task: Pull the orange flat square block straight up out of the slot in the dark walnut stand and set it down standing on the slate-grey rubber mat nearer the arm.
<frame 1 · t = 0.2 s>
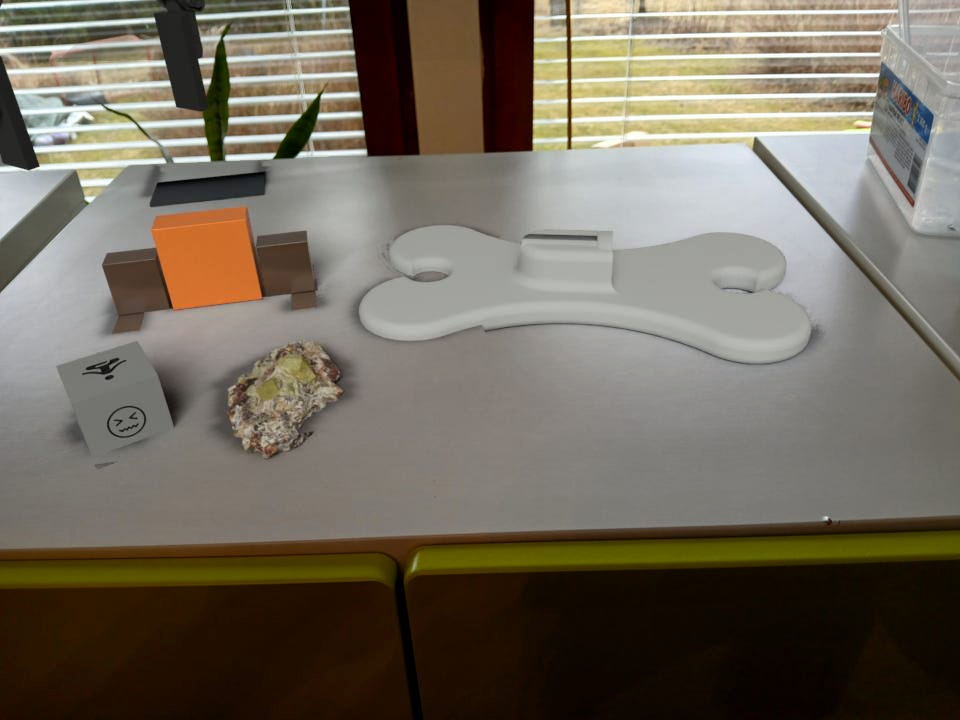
hand: (114, 134, 54), 16 cm above the table, tool pointing down, fingers open, 13 cm apart
mineral rock: (284, 413, 54), on the table
token stand: (222, 307, 66), on the table
mat: (211, 181, 91), on the table
holder: (578, 297, 65), on the table
orange flat square block: (219, 296, 65), point 1 cm above the table, touching token stand
dice cube: (129, 436, 52), on the table
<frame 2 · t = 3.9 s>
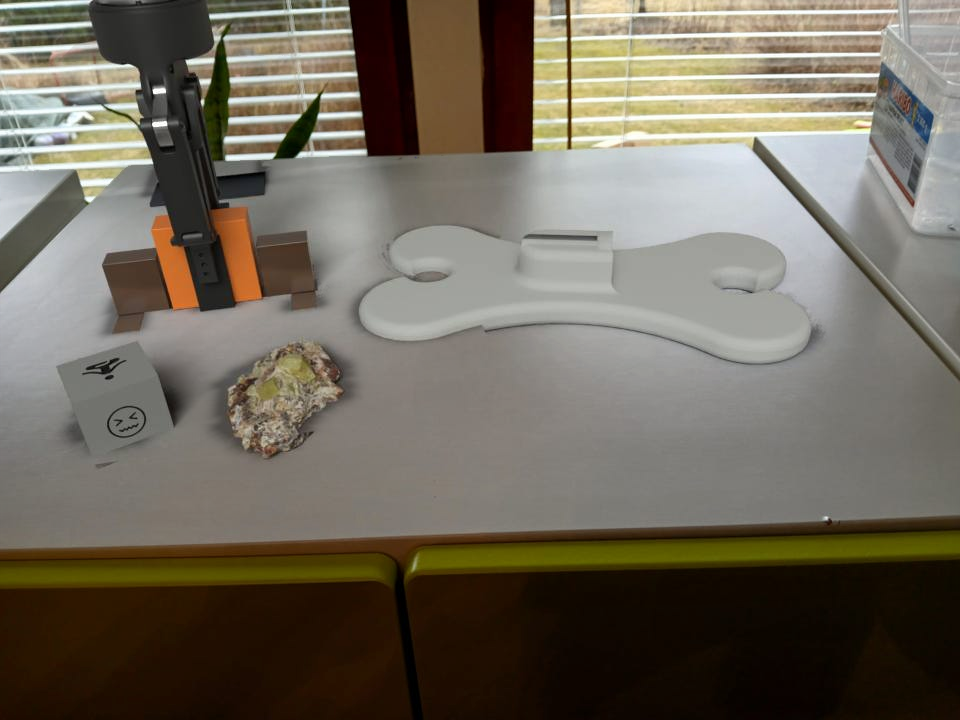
hand: (220, 301, 66), 1 cm above the table, tool pointing down, fingers closed on orange flat square block, 3 cm apart
orange flat square block: (219, 296, 65), point 1 cm above the table, touching gripper
everything else where it was.
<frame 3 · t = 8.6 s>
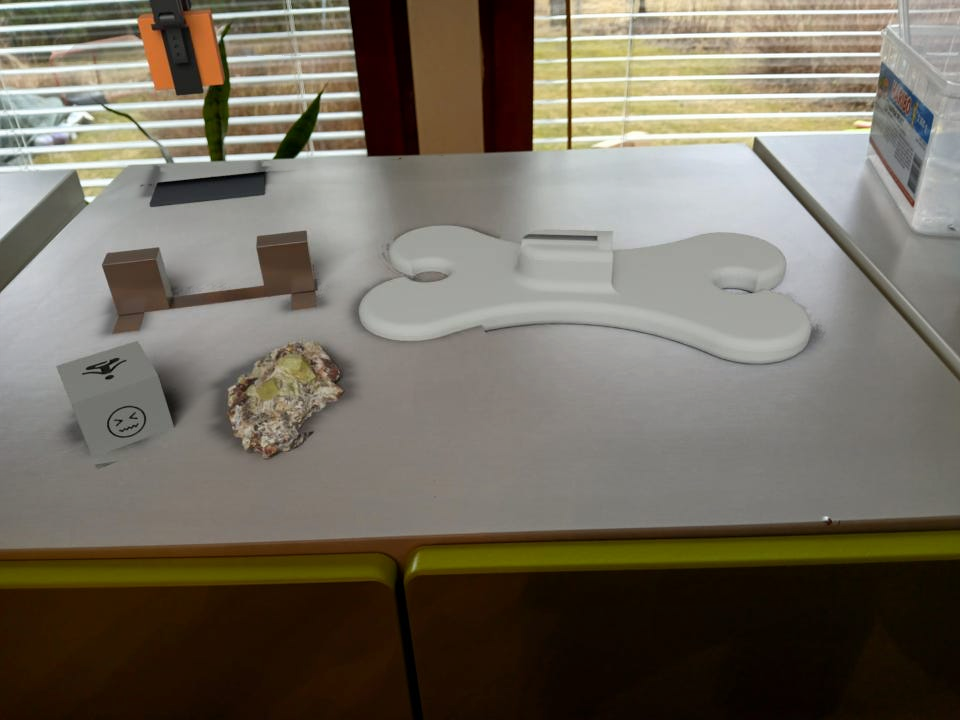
hand: (191, 89, 85), 10 cm above the table, tool pointing down, fingers closed on orange flat square block, 3 cm apart
orange flat square block: (190, 84, 85), point 11 cm above the table, touching gripper
everything else where it was.
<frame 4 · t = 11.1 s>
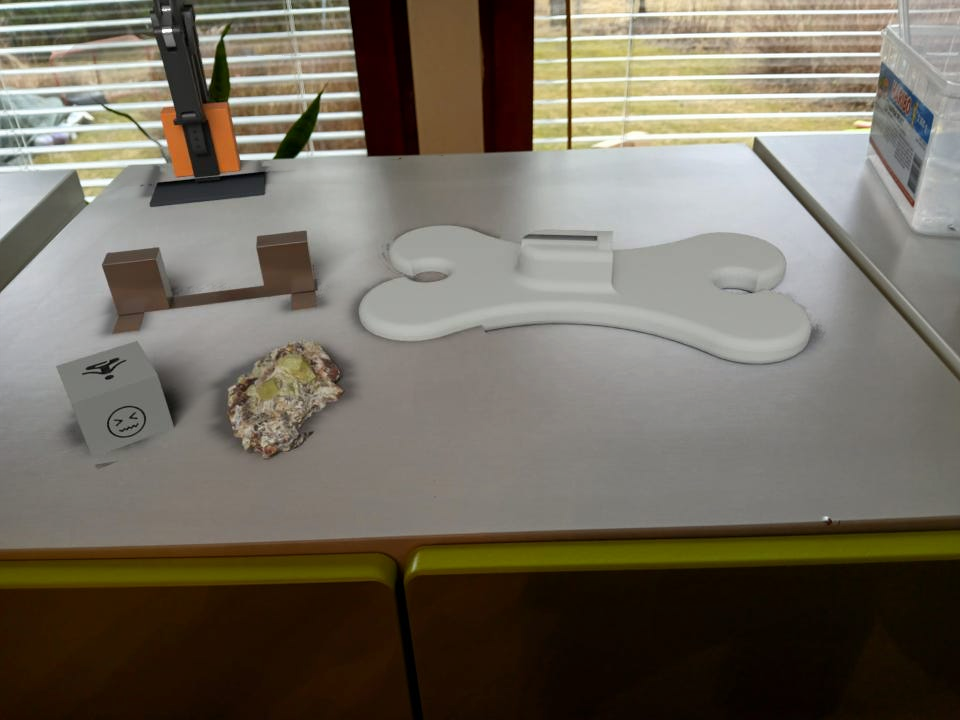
hand: (209, 173, 90), 1 cm above the table, tool pointing down, fingers closed on orange flat square block, 3 cm apart
orange flat square block: (208, 169, 90), point 1 cm above the table, touching gripper
everything else where it was.
when the fingers open (2 cm above the table, at t = 13.7 s): orange flat square block drops 2 cm, resting on mat.
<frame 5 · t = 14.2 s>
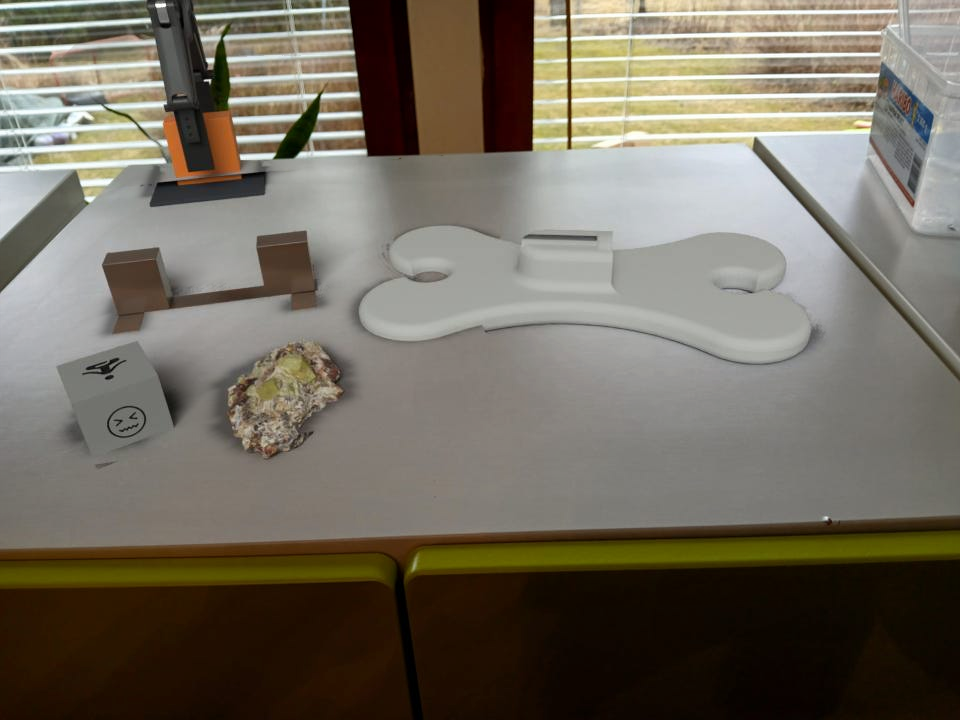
hand: (205, 153, 89), 3 cm above the table, tool pointing down, fingers open, 10 cm apart
orange flat square block: (211, 178, 91), resting on mat
everything else where it was.
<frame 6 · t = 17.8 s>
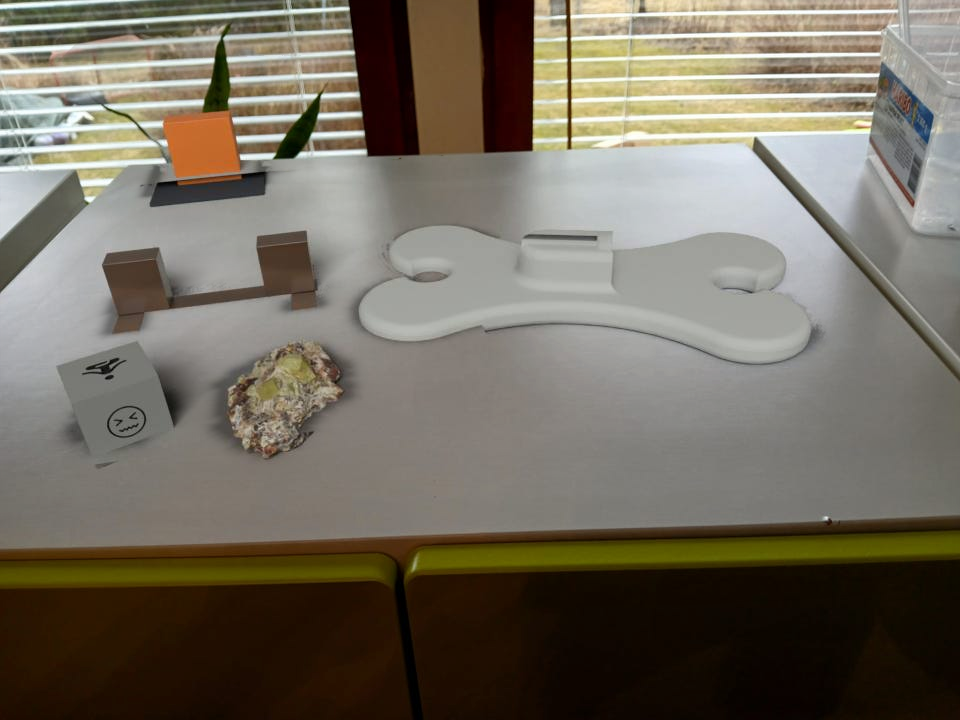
nothing on the table moved.
at the end: orange flat square block inside the target area on the mat (0.0 cm from its centre), point 0.4 cm above the mat's base; orange flat square block touching mat; the gripper is holding nothing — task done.
